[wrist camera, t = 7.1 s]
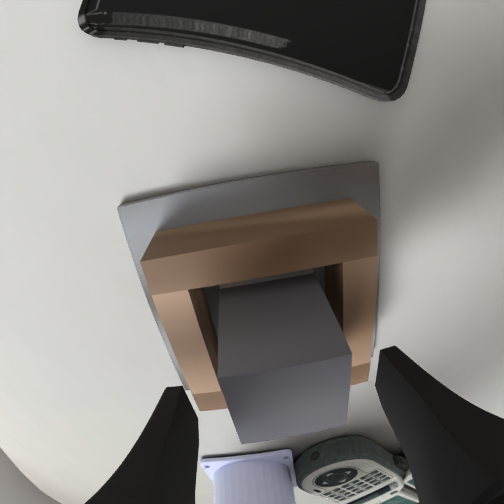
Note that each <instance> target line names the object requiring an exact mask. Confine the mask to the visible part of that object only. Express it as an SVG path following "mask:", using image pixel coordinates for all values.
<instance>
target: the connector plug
mask: <svg viewBox="0 0 504 504" xmlns="http://www.w3.org/2000/svg"><path fill="white" fill-rule="evenodd" d="M351 366H352V352H351V350H350V347H349V345H348V343H347V341H346V339H345V336H344V334H343V332H342V330H341V328H340V326H339V323H338V321H337V319H336V317H335V315H334V313H333V311H332V309H331V307H330V304H329V302H328V300H327V298H326V296H325V294H324V292H323V290H322V288H321V286H320V284H319V282H318V280H317V277H316V275H315V273H314V271H313V269H312V268H311V269H306V270H300V271H295V272H289V273H284V274H278V275H272V276H267V277H261V278H255V279H250V280H244V281H238V282H232V283H226V284H220V286H219V323H218V381H219V384H220V386H221V389H222V392H223V395H224V398H225V401H226V404H227V406H228V409H229V412H230V415H231V417H232V420H233V423H234V426H235V428H236V431H237V434H238V436H239V439H240V441H241V444H245V443H253V442H261V441H268V440H274V439H281V438H286V437H292V436H298V435H303V434H308V433H313V432H318V431H322V430H327V429H331V428H335V427H339V426H344V425H346V419H347V410H348V400H349V390H350V379H351Z"/></svg>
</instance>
